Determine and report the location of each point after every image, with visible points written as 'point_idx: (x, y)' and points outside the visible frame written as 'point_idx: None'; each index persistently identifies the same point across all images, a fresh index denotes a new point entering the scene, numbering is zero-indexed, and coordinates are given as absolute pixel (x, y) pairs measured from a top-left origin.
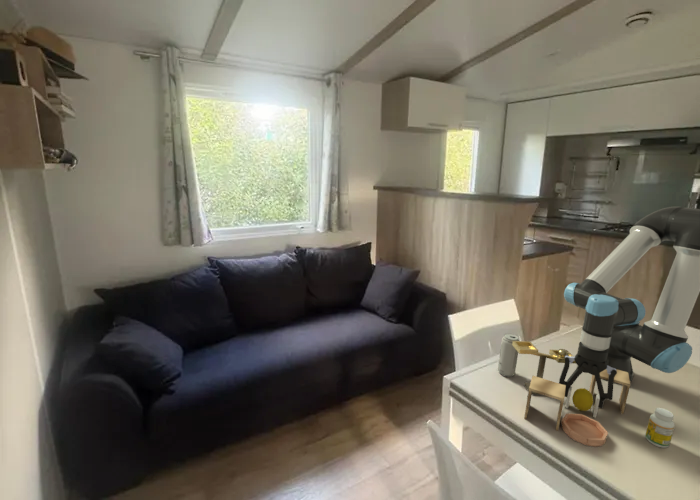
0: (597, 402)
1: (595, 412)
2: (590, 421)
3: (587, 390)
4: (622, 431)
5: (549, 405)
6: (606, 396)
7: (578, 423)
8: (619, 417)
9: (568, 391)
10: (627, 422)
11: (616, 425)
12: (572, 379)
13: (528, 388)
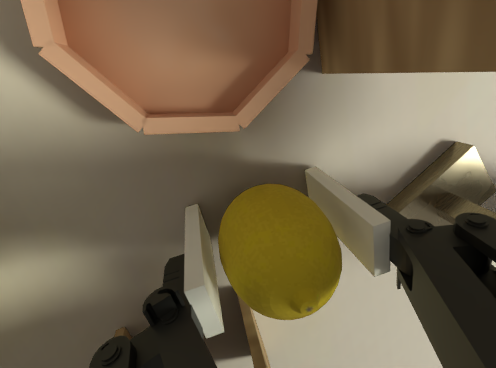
0: (193, 265)
1: (191, 220)
2: (181, 114)
3: (287, 310)
4: (49, 208)
5: (376, 125)
6: (144, 353)
7: (228, 47)
8: (115, 299)
9: (380, 213)
10: (74, 294)
11: (94, 232)
12: (483, 306)
13: (480, 162)
